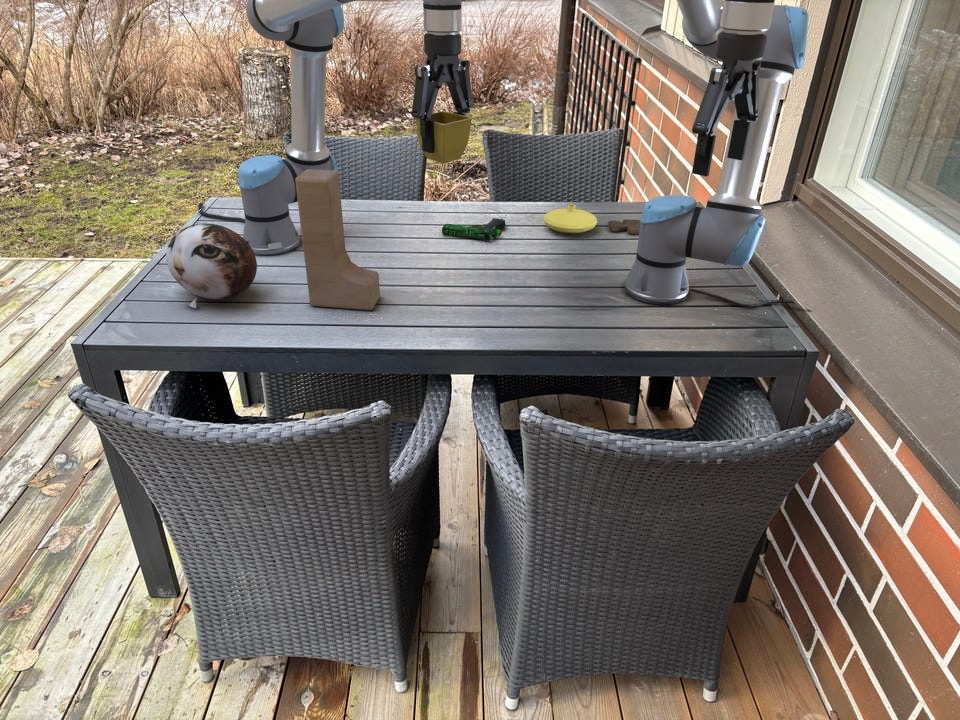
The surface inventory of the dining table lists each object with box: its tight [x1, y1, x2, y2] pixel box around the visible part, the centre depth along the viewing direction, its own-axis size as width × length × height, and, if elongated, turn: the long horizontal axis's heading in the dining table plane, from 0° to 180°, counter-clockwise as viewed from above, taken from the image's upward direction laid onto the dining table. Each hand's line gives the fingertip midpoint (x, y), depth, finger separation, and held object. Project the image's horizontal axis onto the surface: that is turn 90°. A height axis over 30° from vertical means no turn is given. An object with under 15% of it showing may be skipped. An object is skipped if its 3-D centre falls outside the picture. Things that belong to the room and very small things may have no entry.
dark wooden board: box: [607, 219, 640, 235], centre depth 211 cm, size 26×2×10 cm
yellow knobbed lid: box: [543, 203, 598, 234], centre depth 209 cm, size 16×16×7 cm
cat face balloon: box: [165, 222, 258, 309], centre depth 165 cm, size 22×18×20 cm
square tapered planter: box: [414, 110, 473, 165], centre depth 152 cm, size 9×9×9 cm
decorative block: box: [295, 169, 381, 311], centre depth 159 cm, size 8×15×30 cm, turn 82°
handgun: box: [441, 217, 506, 242], centre depth 207 cm, size 16×3×15 cm
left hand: (443, 147), depth 153 cm, fingers closed on square tapered planter, 9 cm apart
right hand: (718, 166), depth 123 cm, fingers open, 13 cm apart
